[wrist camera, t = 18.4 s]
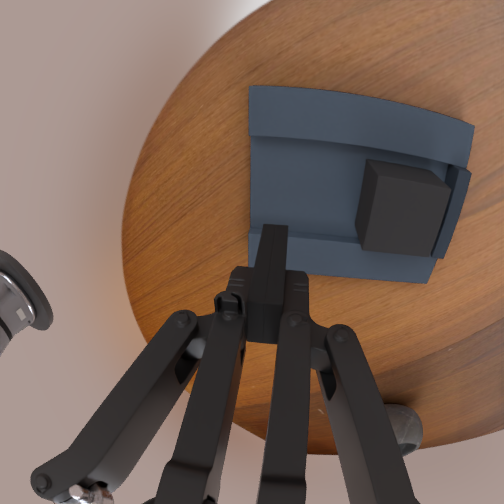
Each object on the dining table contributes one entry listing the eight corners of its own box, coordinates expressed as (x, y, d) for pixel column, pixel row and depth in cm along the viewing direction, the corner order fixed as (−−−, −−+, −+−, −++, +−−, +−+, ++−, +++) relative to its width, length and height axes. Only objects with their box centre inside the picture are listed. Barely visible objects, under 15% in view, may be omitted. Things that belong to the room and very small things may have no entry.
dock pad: (251, 256, 28) (246, 275, 26) (253, 85, 19) (246, 86, 17) (421, 271, 26) (429, 290, 24) (463, 121, 17) (481, 128, 15)
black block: (354, 224, 24) (361, 250, 20) (365, 158, 20) (378, 175, 17) (414, 232, 23) (429, 257, 20) (431, 170, 20) (451, 189, 16)
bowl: (336, 404, 44) (335, 454, 36) (417, 383, 38) (425, 435, 30) (353, 427, 51) (353, 468, 43) (419, 411, 45) (423, 453, 37)
